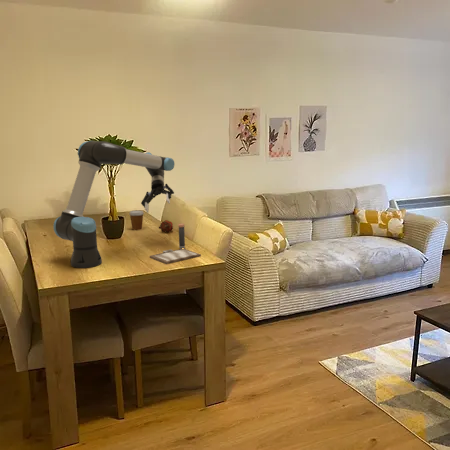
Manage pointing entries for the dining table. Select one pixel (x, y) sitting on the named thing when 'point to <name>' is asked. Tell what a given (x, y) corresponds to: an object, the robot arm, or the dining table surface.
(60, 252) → the dining table surface
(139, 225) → the disposable coffee cup
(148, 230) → the dining table surface
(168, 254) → the clipboard
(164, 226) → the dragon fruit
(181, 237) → the marker
